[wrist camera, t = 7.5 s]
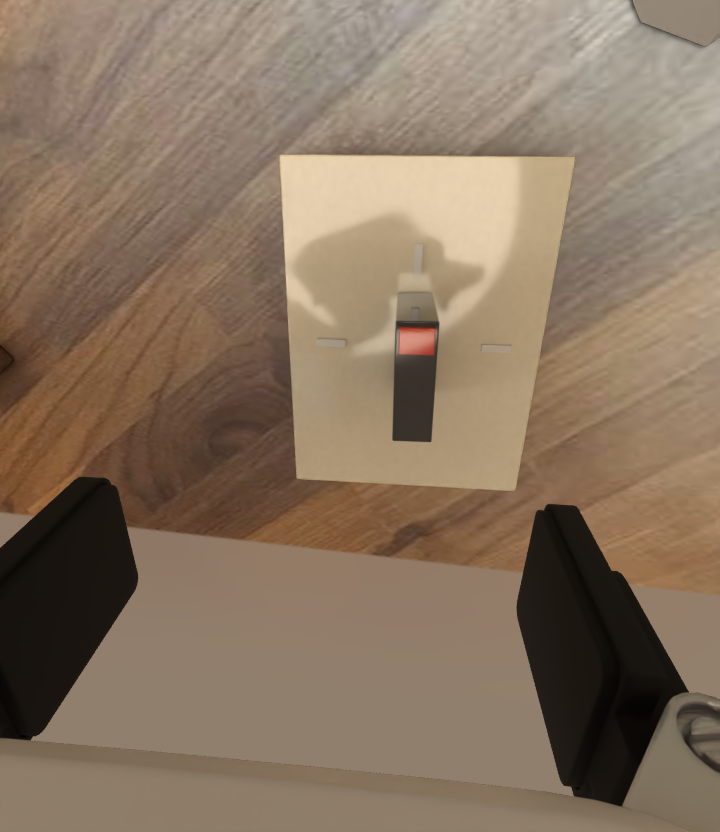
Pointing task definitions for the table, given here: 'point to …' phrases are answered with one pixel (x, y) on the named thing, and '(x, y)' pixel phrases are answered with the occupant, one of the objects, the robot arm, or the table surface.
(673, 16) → the flask
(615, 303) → the table surface
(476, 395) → the beige lever switch base
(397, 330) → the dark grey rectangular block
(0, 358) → the button housing
